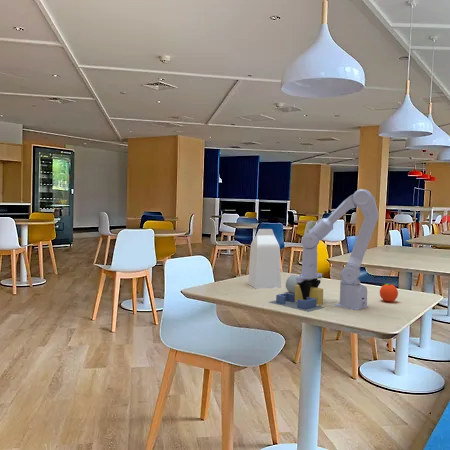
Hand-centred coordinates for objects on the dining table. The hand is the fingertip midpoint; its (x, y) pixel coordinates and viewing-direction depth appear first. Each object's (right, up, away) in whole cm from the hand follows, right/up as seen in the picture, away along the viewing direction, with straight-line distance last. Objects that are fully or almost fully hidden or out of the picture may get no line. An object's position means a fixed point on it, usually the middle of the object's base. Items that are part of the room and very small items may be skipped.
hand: (308, 298), depth 177 cm
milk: (-14, +1, +32) cm, 35 cm away
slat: (0, -1, 0) cm, 1 cm away
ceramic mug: (-1, -1, +15) cm, 16 cm away
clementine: (+32, -2, +5) cm, 33 cm away
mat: (-6, -2, -5) cm, 8 cm away
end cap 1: (-9, -1, -2) cm, 10 cm away
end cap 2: (-2, -2, -9) cm, 9 cm away
